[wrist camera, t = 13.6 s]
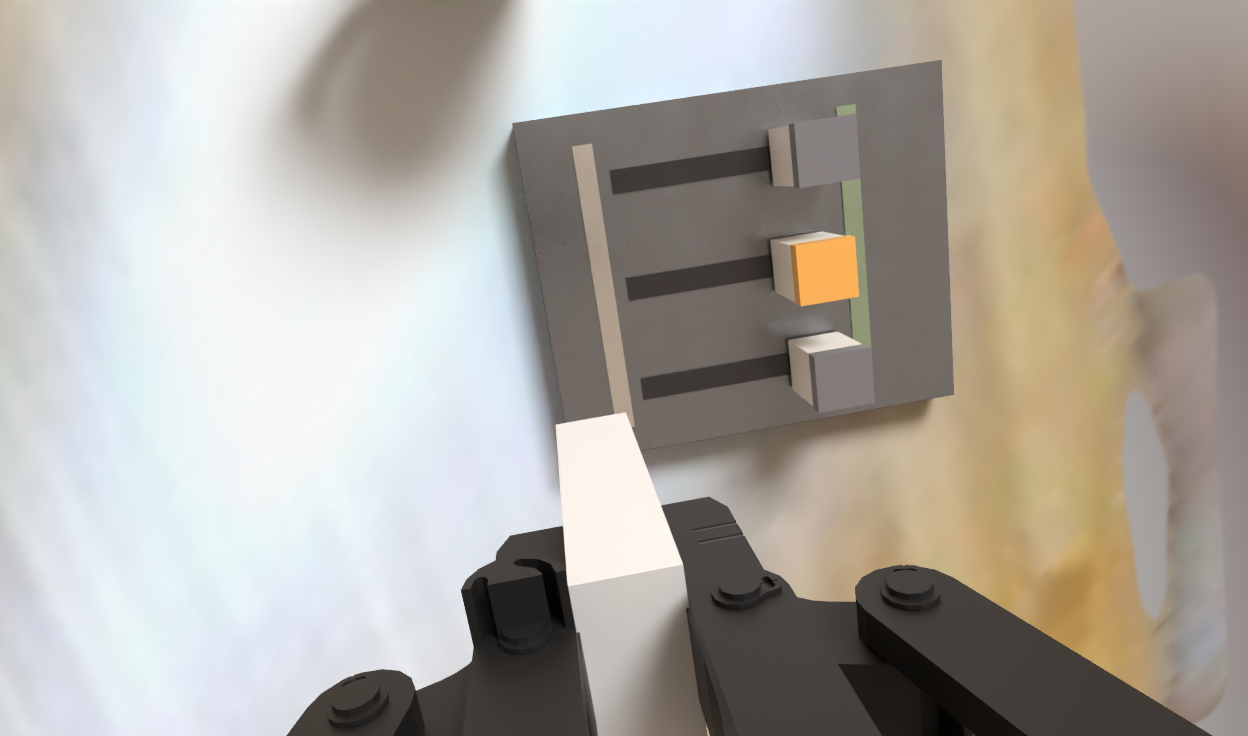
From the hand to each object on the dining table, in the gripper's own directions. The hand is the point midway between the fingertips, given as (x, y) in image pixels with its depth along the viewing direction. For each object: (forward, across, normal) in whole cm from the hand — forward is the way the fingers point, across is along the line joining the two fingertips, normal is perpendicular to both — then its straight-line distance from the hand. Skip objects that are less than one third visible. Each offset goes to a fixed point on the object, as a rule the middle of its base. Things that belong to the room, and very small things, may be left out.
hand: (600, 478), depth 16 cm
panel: (+26, +10, 0) cm, 28 cm away
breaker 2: (+24, +13, -5) cm, 28 cm away
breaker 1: (+24, +13, +5) cm, 28 cm away
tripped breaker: (+24, +13, 0) cm, 27 cm away
